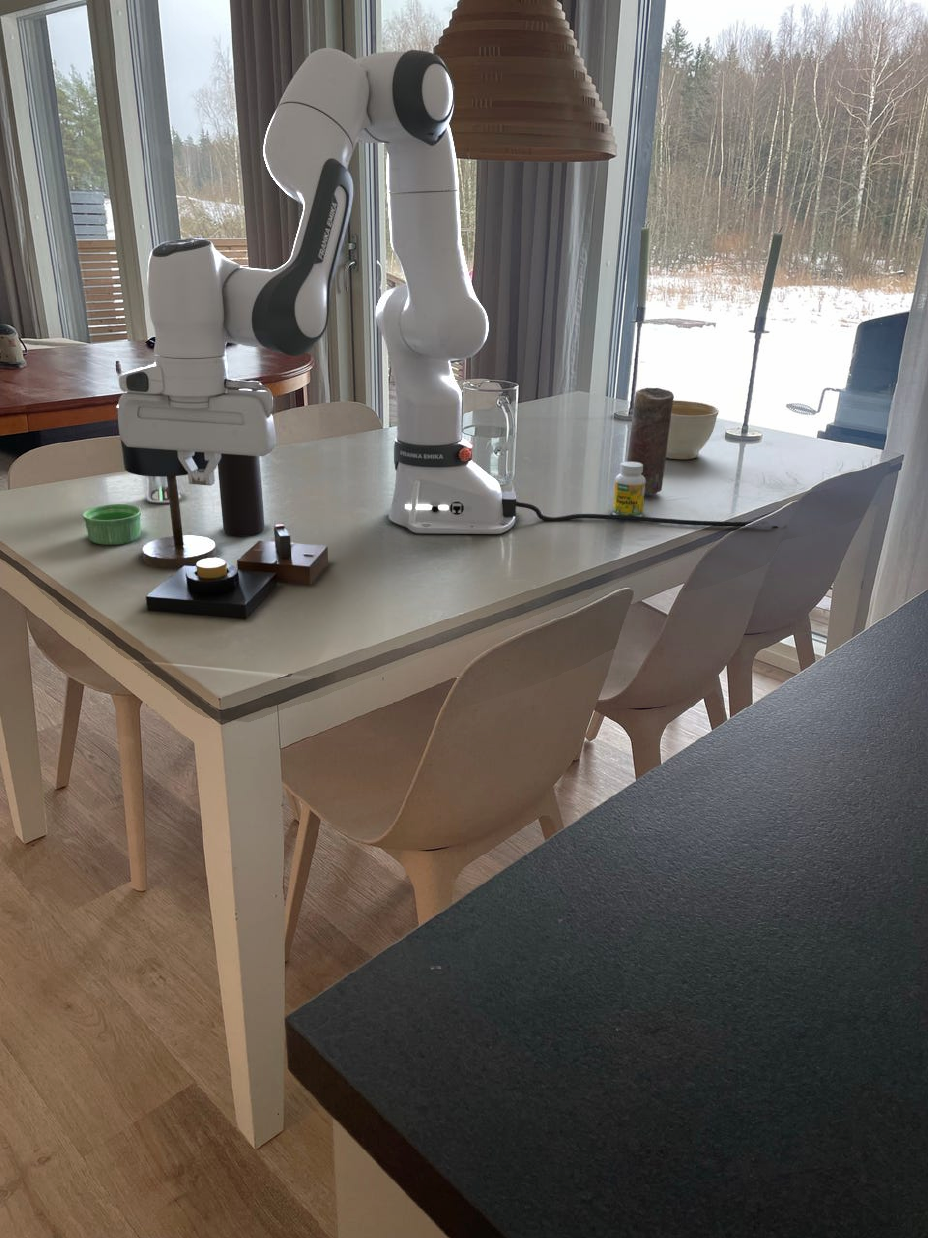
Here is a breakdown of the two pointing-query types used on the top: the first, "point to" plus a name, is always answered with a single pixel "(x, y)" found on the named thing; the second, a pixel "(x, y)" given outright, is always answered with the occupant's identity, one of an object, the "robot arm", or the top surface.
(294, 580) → the block
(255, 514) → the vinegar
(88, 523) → the ramekin
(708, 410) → the planter bowl
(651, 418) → the candle
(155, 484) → the beer glass
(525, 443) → the top surface
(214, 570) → the lamp button
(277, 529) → the dimmer knob
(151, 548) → the table lamp
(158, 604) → the switch block
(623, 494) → the supplement bottle
